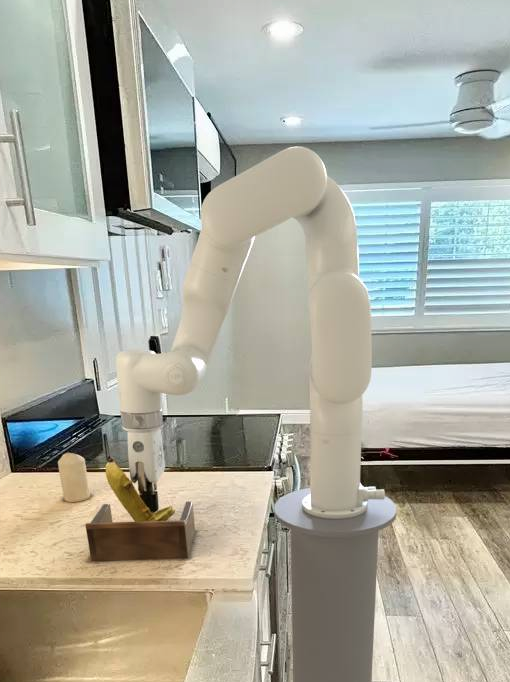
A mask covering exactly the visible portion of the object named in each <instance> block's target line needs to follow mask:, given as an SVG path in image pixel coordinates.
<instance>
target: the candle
mask: <svg viewBox="0 0 510 682" xmlns="http://www.w3.org/2000/svg"><path fill="white" fill-rule="evenodd" d="M57 466H58V472H59V477H60V483H61V489H62V495H63V499H64V501H65V502H71V503H74V502H83V501H86V500H88V499H89V498H90V497H91V491H90V485H89V478H88V471H87V465H86V459H85V458H84V457H83V456H81V455H79V454H76V453H72V452H66V453H64V454H62V456H61V457H60V458H59V459H58V461H57Z"/></svg>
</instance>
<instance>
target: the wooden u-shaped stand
mask: <svg viewBox="0 0 510 682" xmlns="http://www.w3.org/2000/svg"><path fill="white" fill-rule="evenodd" d="M85 530H86V531H85V532H86V538H87V544H88V550H89V556H90V561H91V562H103V561H104V562H106V561H134V560H135V561H136V560H137V561H138V560H169V559H170V560H171V559H188V558H189V555H190V552H191V547H192V544H193V541H194V537H195V533H196V526H195V514H194V501H185V504H184V507H183V510H182V512H181V516H180V519H179V520H178V519H176V520H175V519H174V520H166V521H142V522H135V521H113V514H112V509H111V504H110V503H103V504H102V506H101V507H100V508H99V510H98V512H97V513H96V514H95V516H94V517H93V518H92V520H91V521H90V522H86V523H85Z"/></svg>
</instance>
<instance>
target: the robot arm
mask: <svg viewBox="0 0 510 682" xmlns="http://www.w3.org/2000/svg"><path fill="white" fill-rule="evenodd" d="M291 219H295V220H296V222H298V224H299V225H300V227H301V228H302V230H303V234H304V241H305V253H306V261H307V263H306V264H307V287H308V289H307V290H308V291H307V292H308V293H307V302H306V304H307V311H308V314H309V321H310V323H309V325H310V341H311V356H310V359H309V364H308V365H309V366H308V383H309V384H308V385H309V417H310V418H309V427H310V428H309V480H310V481H309V488H310V495H308V496H307V497H305V498H304V499H303V501H302V508H303V510H304V511H306V512H307V513H308V514H310V515H313V516H316V517H320V518H326V519H345V518H351V517H355V516H358V515H361V514H362V513H364V512H365V511H366V510H367V501H368V499H375V500H380V499H384V498H385V496H386V493H385V489H377V488H376V486H364V485H362V483H361V469H362V466H361V464H362V460H361V459H362V437H363V435H362V434H363V433H362V432H363V394H364V393H366V390H367V389H368V388H369V384H370V382H371V379H372V369H373V368H372V365H373V364H372V362H373V361H372V359H373V357H372V355H373V354H372V352H373V350H372V348H373V347H372V343H373V342H372V307H371V306H372V305H371V299H370V295H369V292H368V289H367V286H366V285H365V284H364V282H363V280H361V279H360V260H359V259H360V256H359V245H358V229H357V222H356V217H355V212H354V209H353V207H352V204H351V202H350V200H349V198H348V197H347V195H346V194H345V191H343V189H342V188H341V187H340V186H339V185H338V183H337V182H336V181H335V180H333V178H331V177H329V176H328V175H327V170H326V167H325V164H324V162H323V160H322V158H321V157H320V155H318V153H316V152H315V151H314V150H312V149H310V148H309V147H306V146H291V147H287V148H285V149H283V150H280V151H278V152H277V153H275V154H273V155H271V156H269V157H268V158H266V159H264V160H263V161H261V162H259V163H257V164H255V165H254V166H252V167H250V168H248V169H245V171H242V172H240V173H239V174H237V175H235V176H233V177H231V178H230V179H228V180H225V181H224V182H222V183H221V184H219V185H217V186H215V187H214V188H213V189H211V190H210V192H208V194H206V196H205V198H204V199H203V202H202V204H201V209H200V221H201V226H202V227H201V228H200V232H199V234H198V239H197V241H196V245H195V246H194V247H195V248H194V250H193V254H192V257H191V259H190V262H189V265H188V269H187V272H186V275H185V277H184V280H183V285H182V298H183V299H182V302H183V303H182V311H181V312H182V313H181V315H180V316H181V317H180V320H179V325H178V328H177V331H176V334H175V337H174V340H173V342H172V346H171V348H170V351H167V352H162V353H156V352H155V351H154V350H149V349H142V348H141V349H137V348H136V349H135V348H134V349H126V350H121V351H119V352H118V353H117V354H116V356H115V369H116V381H117V389H118V391H117V392H118V400H119V411H120V422H121V429H122V430H124V431H126V433H127V435H126V436H127V437H126V438H127V457H128V458H127V459H128V468H129V477H130V478H129V479H130V480H131V481H132V483H133V484H136V483H137V492H139V493H138V494H139V496H140V497H141V499H142V500H143V502H144V503H145V505H146V506H147V507H148V508H149V510H150V511H151V513H154V512H156V511H158V510H160V509H159V507H160V506H159V493H158V482H159V481H160V479H161V477H162V476H163V474H164V472H165V470H166V462H165V453H164V451H165V450H164V443H163V435H162V430H161V429H162V428H164V415H163V398H162V394H166V395H172V396H183V395H187V394H190V393H191V392H193V390H195V388H197V386H198V385H199V383H200V382H201V381H202V379H203V378H204V376H205V374H206V372H207V369H208V366H209V363H210V360H211V358H212V355H213V352H214V350H215V347H216V344H217V341H218V338H219V335H220V332H221V329H222V326H223V324H224V322H225V320H226V318H227V315H228V314H229V311H230V307H231V304H232V301H233V298H234V295H235V293H236V290H237V287H238V284H239V281H240V278H241V277H242V273H243V270H244V268H245V264H246V262H247V260H248V257H249V254H250V252H251V248H252V246H253V243H254V240H255V237H258V236H259V235H261V234H264V233H266V232H267V231H269V230H272V229H273V228H275V227H277V226H279V225H281V224H282V223H285V222H287V221H288V220H291Z"/></svg>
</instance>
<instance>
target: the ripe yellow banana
mask: <svg viewBox="0 0 510 682" xmlns="http://www.w3.org/2000/svg"><path fill="white" fill-rule="evenodd" d="M106 460H107V463H106V464H105V476H106V479H107V483H108V485H109V486H110V489H111V490H112V491H113V493H114V495H115V496H116V498H117V500H118V501H119V502H120V504H121V505H122V507H123V508H124V510H125V511H127V513H128V514H129V516H130V517H131V518H132V520H133V522H142V521H169V519H170V518H171V517H172V516H174V514H175V513H176V510H175V509H174V508H173V506H172V505H169V506H167V507H166V506H165V507H164V508H161V509H158V511H156V512H154V513H151V511H150V510H149V508H148V507H147V506H146V505H145V503H144V502H143V500H142V499H141V497H140V496H139V493H138V490H136V487H135V486H134V483H133V482H132V481H131V479H130V478H129V477H128V476H127V474H126V473H125V472H124V471H123V470H122V468H121V467H120V466H119V465H118V463H117V462H116V461H115V460H114V459H113V458H112V457H111V455H108V456H107V455H106Z"/></svg>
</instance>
